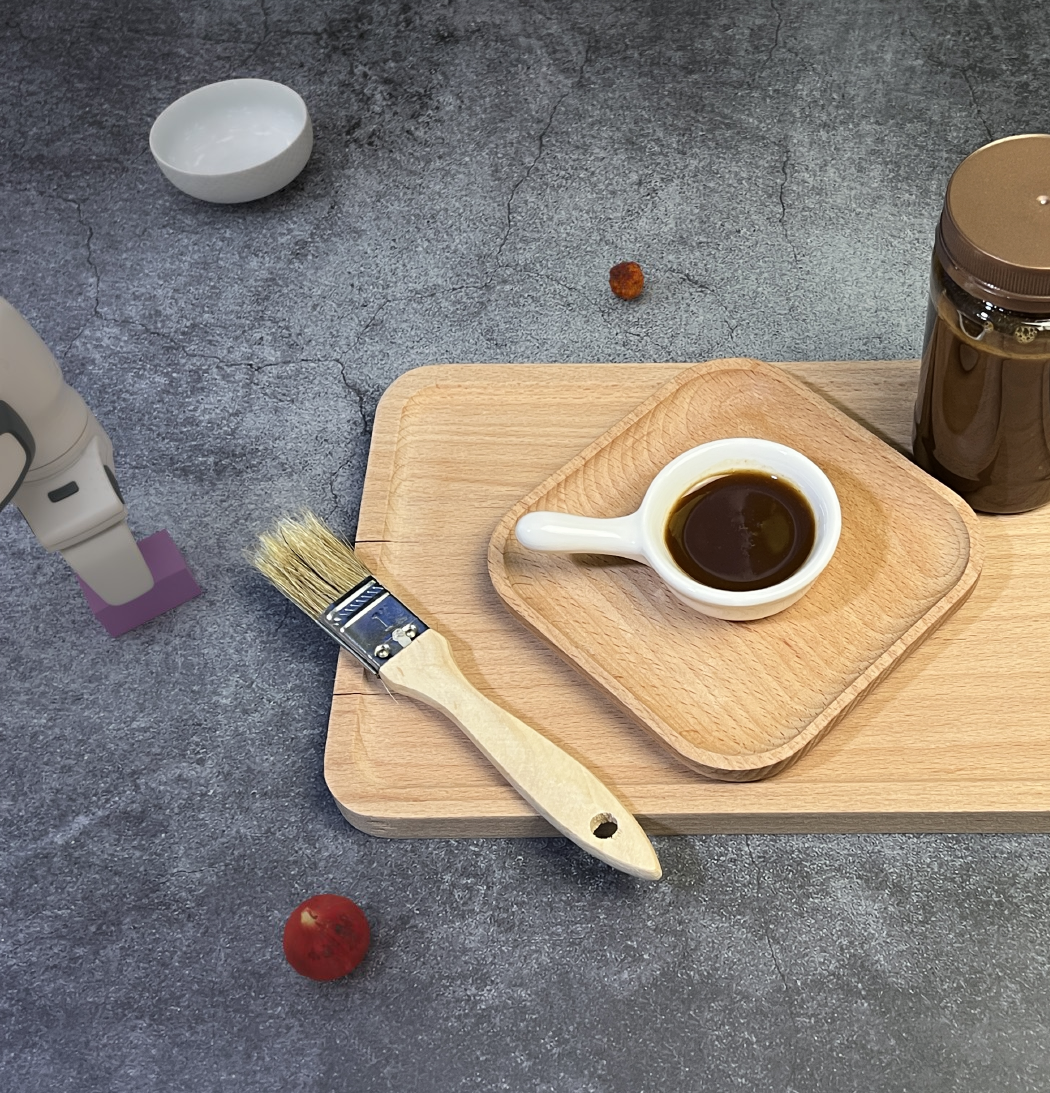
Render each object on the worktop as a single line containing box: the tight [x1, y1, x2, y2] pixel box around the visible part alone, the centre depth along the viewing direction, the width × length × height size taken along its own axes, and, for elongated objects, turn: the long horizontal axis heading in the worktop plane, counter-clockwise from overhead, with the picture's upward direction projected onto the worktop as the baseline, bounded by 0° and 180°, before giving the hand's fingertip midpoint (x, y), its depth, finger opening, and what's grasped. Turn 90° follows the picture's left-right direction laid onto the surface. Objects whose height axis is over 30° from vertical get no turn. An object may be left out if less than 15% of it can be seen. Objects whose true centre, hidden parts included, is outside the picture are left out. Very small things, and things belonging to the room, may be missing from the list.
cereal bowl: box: [148, 78, 314, 204], centre depth 141 cm, size 17×17×7 cm
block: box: [74, 528, 204, 639], centre depth 111 cm, size 5×8×4 cm, turn 124°
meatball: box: [608, 261, 645, 300], centre depth 130 cm, size 4×4×4 cm
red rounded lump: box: [282, 893, 371, 982], centre depth 91 cm, size 6×6×8 cm
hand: (122, 551), depth 113 cm, fingers closed
